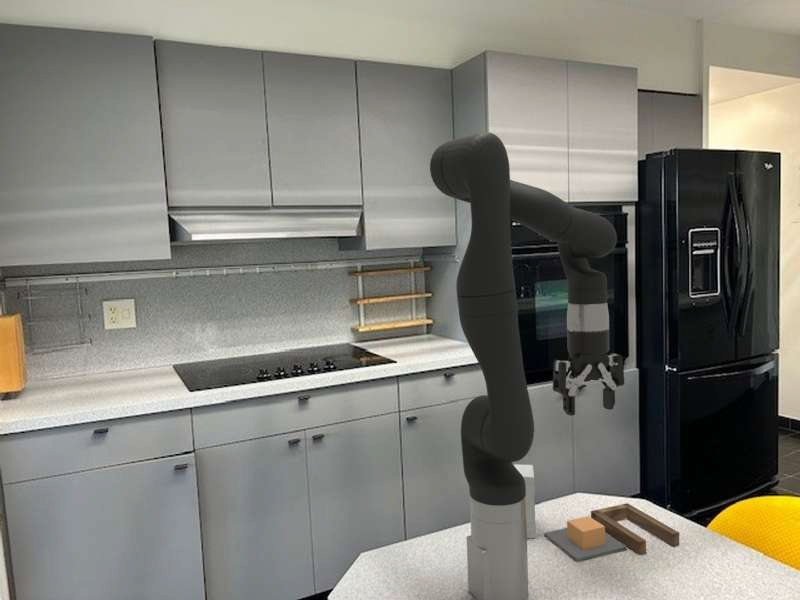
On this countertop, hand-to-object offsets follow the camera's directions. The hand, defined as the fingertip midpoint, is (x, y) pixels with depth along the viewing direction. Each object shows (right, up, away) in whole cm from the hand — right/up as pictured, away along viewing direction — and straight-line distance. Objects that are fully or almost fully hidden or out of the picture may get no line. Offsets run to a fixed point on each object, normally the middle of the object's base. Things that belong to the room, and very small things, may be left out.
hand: (589, 411), depth 115 cm
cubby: (+11, -25, +6) cm, 28 cm away
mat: (0, -26, +3) cm, 26 cm away
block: (0, -25, +2) cm, 26 cm away
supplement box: (-12, -26, +10) cm, 30 cm away
